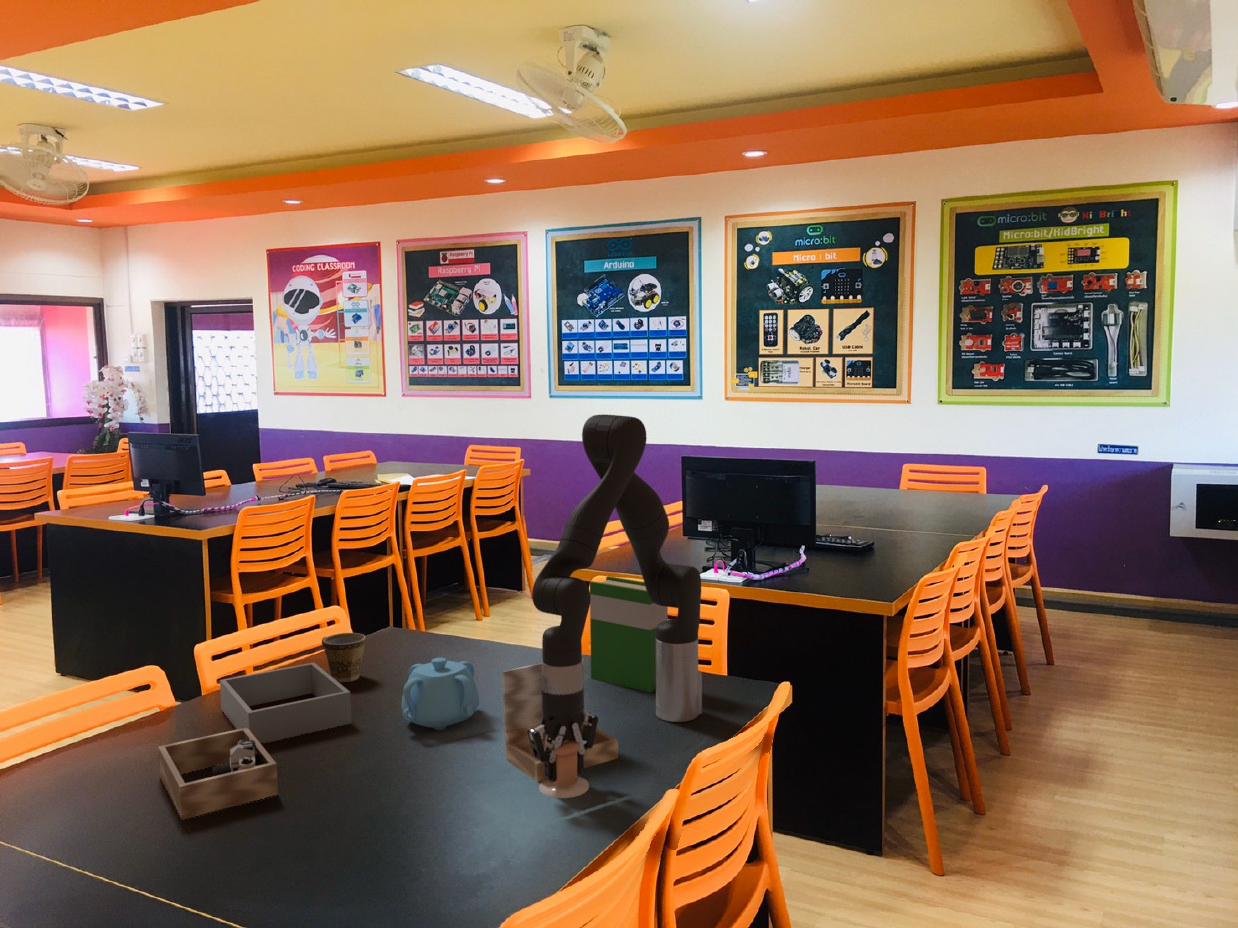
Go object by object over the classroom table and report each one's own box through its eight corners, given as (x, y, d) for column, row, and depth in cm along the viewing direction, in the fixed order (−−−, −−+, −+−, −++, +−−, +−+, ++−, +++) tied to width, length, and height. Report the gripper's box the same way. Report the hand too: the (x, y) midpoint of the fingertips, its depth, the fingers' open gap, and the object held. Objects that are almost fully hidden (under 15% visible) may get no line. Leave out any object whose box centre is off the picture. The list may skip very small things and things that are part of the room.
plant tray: (315, 691, 226) (314, 662, 225) (351, 723, 205) (350, 691, 204) (221, 710, 214) (219, 680, 213) (250, 746, 193) (248, 713, 192)
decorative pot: (473, 734, 199) (471, 671, 197) (395, 735, 198) (393, 671, 197) (483, 706, 215) (481, 647, 213) (411, 707, 215) (409, 648, 213)
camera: (211, 778, 179) (208, 734, 177) (256, 770, 182) (253, 726, 180) (215, 813, 167) (212, 765, 165) (262, 803, 170) (259, 756, 169)
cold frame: (580, 738, 196) (579, 652, 194) (618, 760, 185) (617, 670, 183) (502, 759, 186) (500, 669, 184) (537, 784, 175) (535, 689, 173)
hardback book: (591, 678, 233) (589, 581, 230) (609, 670, 239) (608, 576, 236) (650, 692, 222) (649, 592, 220) (667, 683, 228) (667, 585, 226)
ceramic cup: (375, 675, 236) (373, 636, 235) (344, 687, 228) (342, 646, 227) (339, 667, 243) (337, 628, 242) (307, 678, 235) (305, 638, 234)
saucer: (572, 774, 179) (572, 771, 179) (598, 791, 172) (598, 788, 171) (530, 786, 174) (530, 783, 174) (555, 805, 166) (555, 801, 166)
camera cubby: (248, 756, 188) (247, 727, 188) (278, 795, 171) (276, 763, 170) (159, 777, 179) (158, 746, 179) (181, 820, 162) (179, 786, 161)
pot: (569, 770, 177) (569, 733, 176) (586, 781, 172) (586, 743, 171) (542, 778, 173) (541, 741, 172) (559, 789, 168) (558, 751, 168)
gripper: (584, 672, 178) (586, 759, 180) (517, 687, 170) (519, 779, 171) (607, 683, 172) (608, 773, 173) (538, 699, 163) (540, 794, 165)
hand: (564, 776), depth 172 cm, fingers closed on pot, 4 cm apart
